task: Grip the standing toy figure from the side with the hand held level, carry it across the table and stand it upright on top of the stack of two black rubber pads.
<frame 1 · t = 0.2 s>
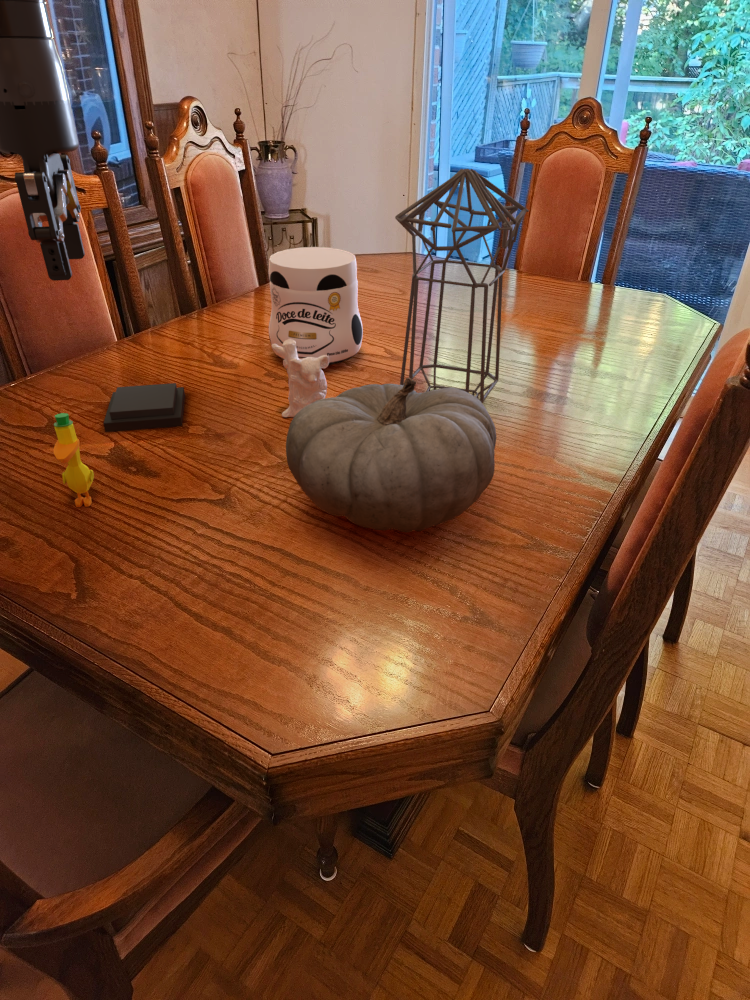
hand: (68, 268, 73), 28 cm above the table, tool pointing down, fingers open, 8 cm apart
toy figure: (83, 504, 84), on the table
gourd: (389, 504, 85), on the table
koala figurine: (304, 415, 105), on the table
pad stack: (148, 418, 104), on the table
milk container: (317, 356, 126), on the table
geometric lantern: (449, 412, 106), on the table
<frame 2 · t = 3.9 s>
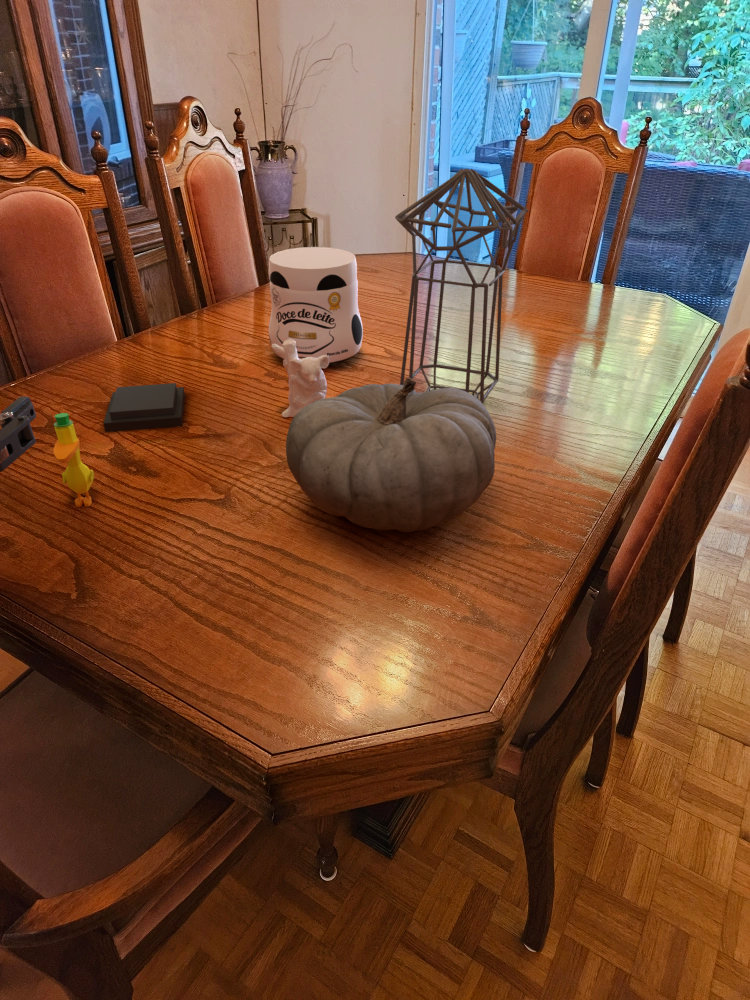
nothing on the table moved.
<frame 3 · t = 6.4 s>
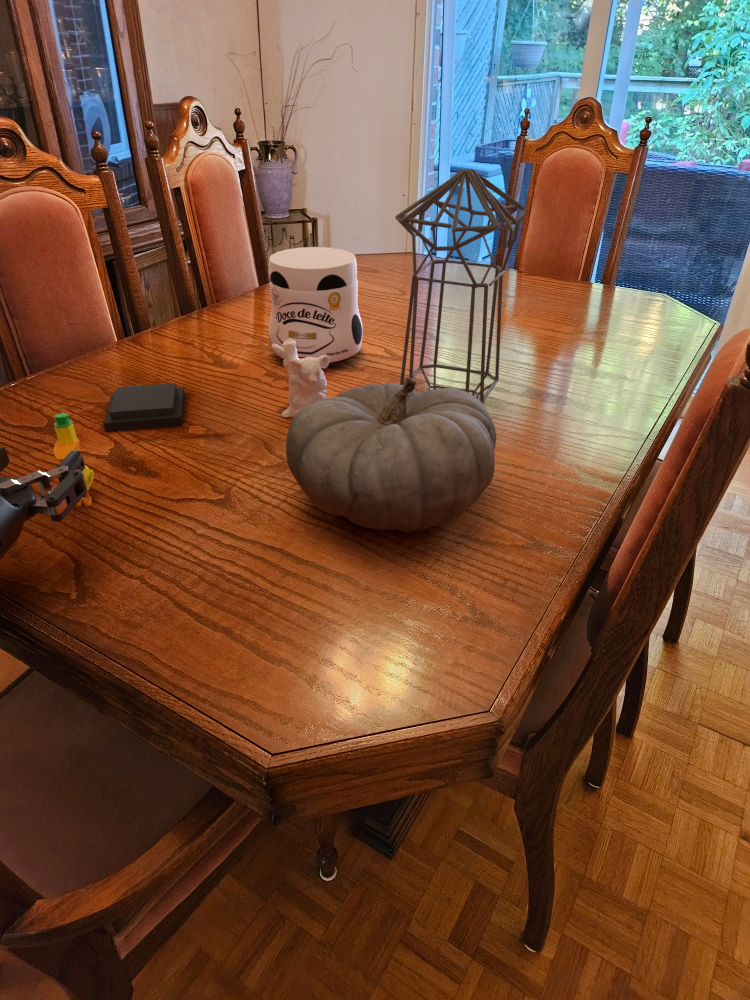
hand: (41, 455, 74), 10 cm above the table, tool horizontal, fingers open, 8 cm apart
nothing on the table moved.
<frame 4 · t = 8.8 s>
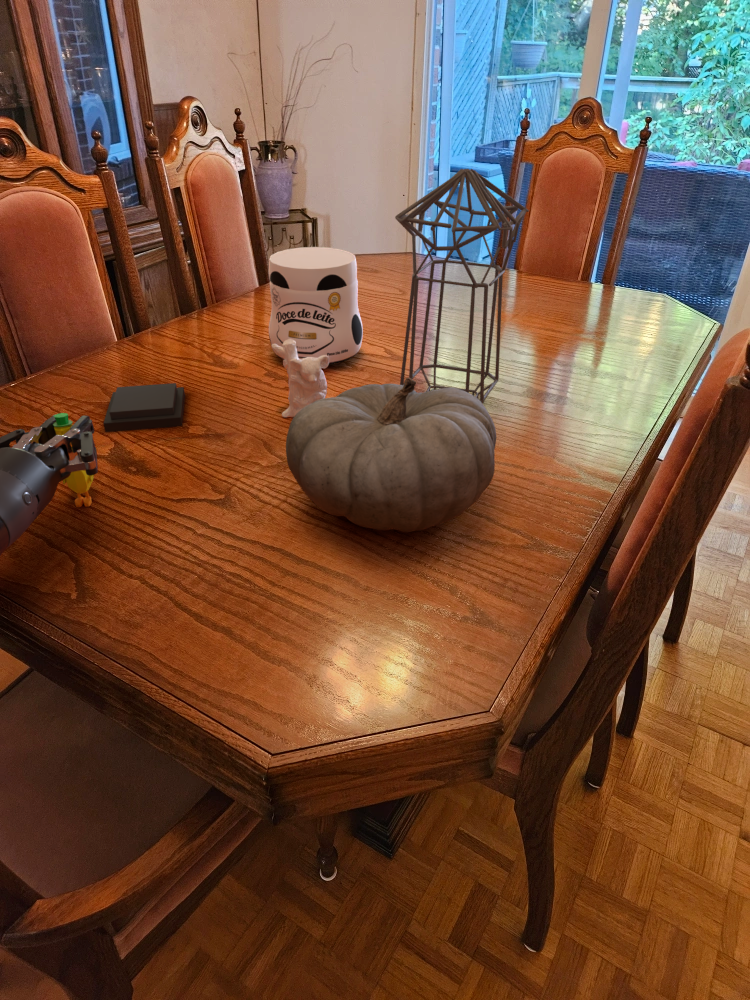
hand: (74, 422, 81), 10 cm above the table, tool horizontal, fingers closed on toy figure, 3 cm apart
toy figure: (83, 504, 84), on the table, touching gripper
everything else where it was.
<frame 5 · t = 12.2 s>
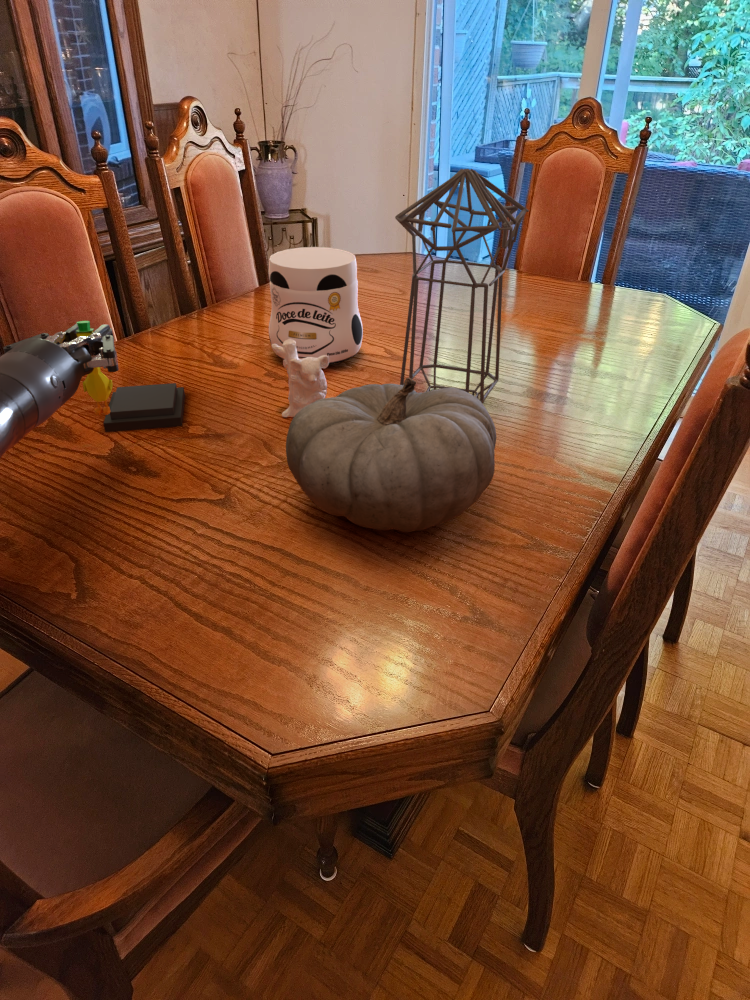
hand: (95, 331, 85), 18 cm above the table, tool horizontal, fingers closed on toy figure, 3 cm apart
toy figure: (103, 413, 88), point 7 cm above the table, touching gripper
everything else where it was.
when the fingers open (14 cm above the table, at t = 15.7 s): toy figure stays where it is, resting on pad stack.
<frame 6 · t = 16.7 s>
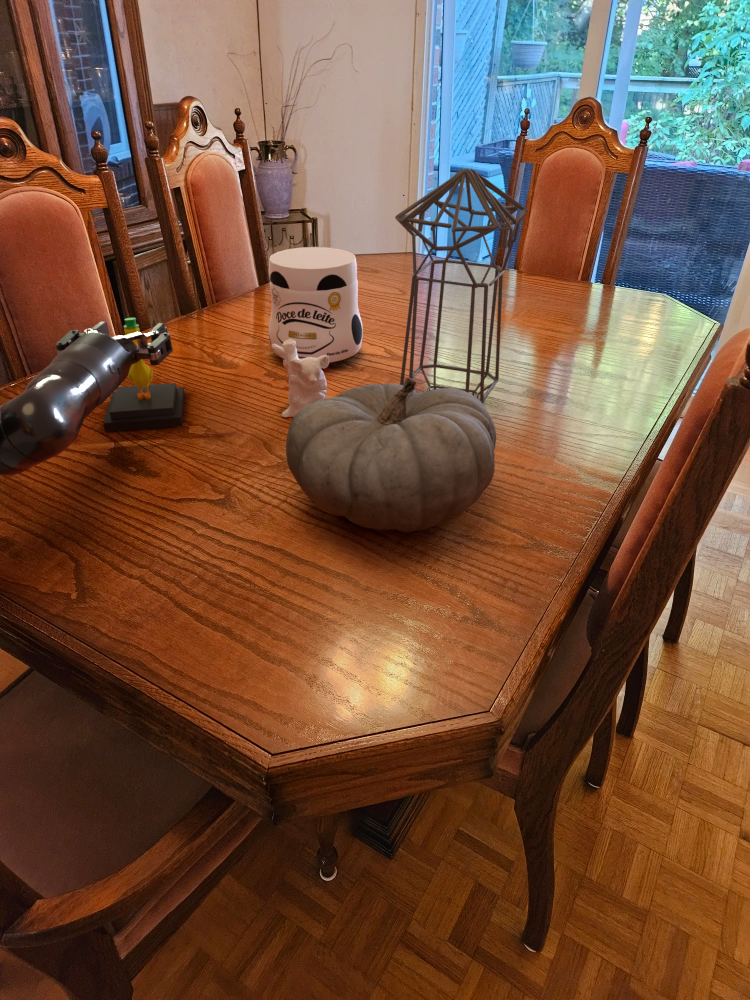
hand: (134, 328, 97), 14 cm above the table, tool horizontal, fingers open, 8 cm apart
toy figure: (144, 398, 102), point 3 cm above the table, touching pad stack
everything else where it was.
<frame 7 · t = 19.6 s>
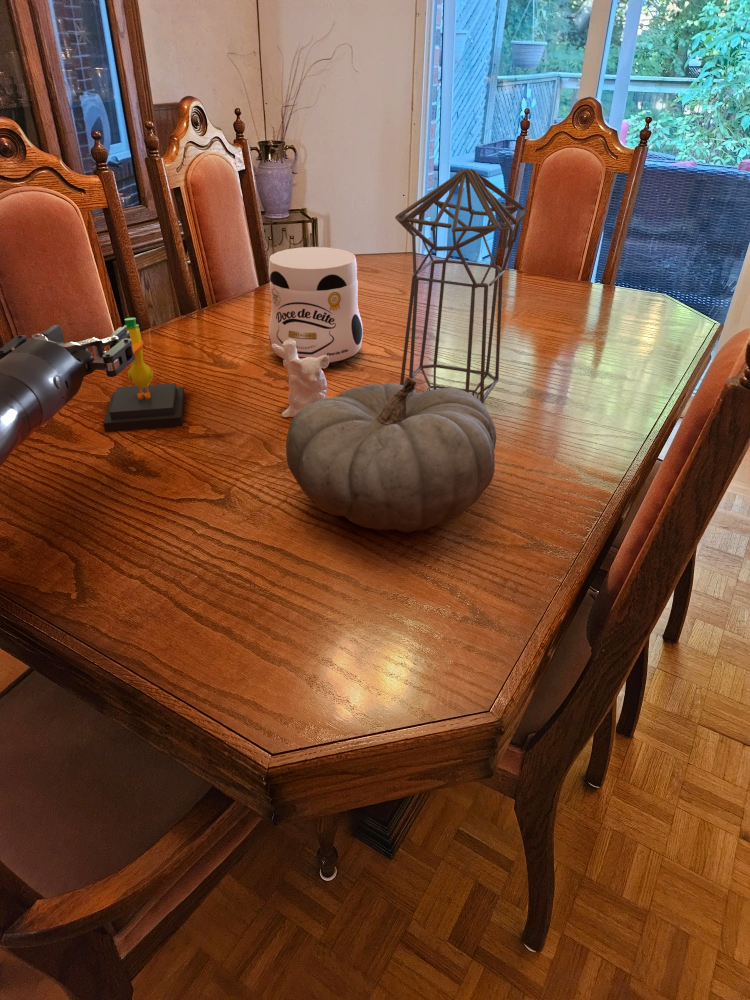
hand: (92, 333, 85), 18 cm above the table, tool horizontal, fingers open, 8 cm apart
nothing on the table moved.
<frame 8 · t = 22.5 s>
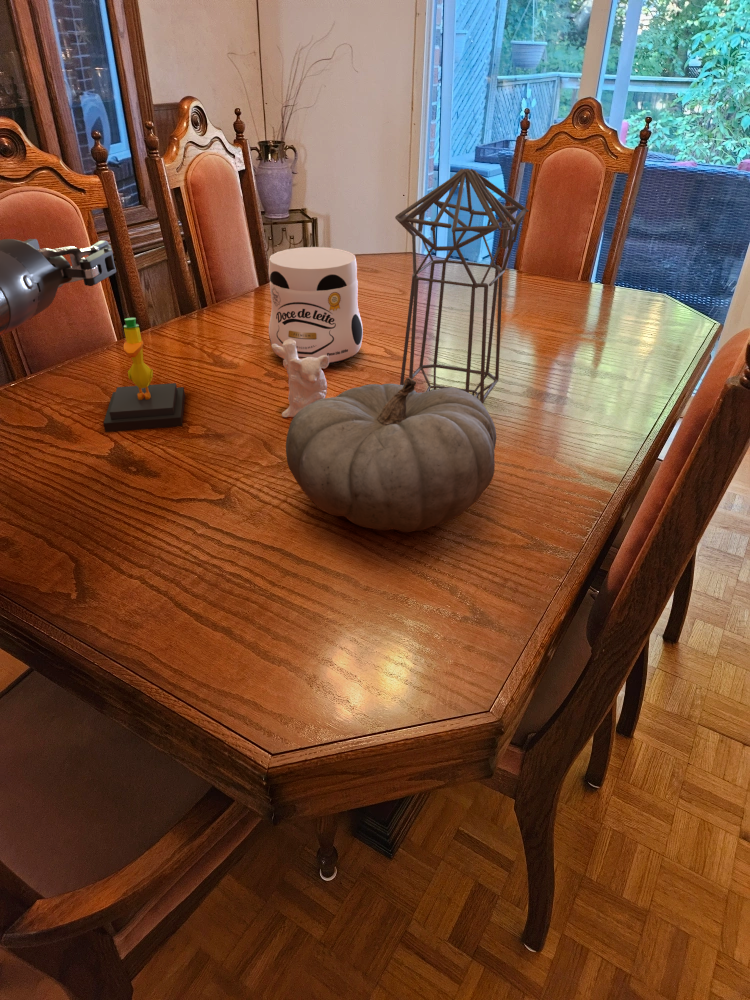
hand: (71, 248, 79), 28 cm above the table, tool horizontal, fingers open, 8 cm apart
nothing on the table moved.
at the end: toy figure inside the target area on the pad stack (0.2 cm from its centre), point 3.4 cm above the pad stack's base; toy figure tilted 0°; the gripper is holding nothing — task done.
